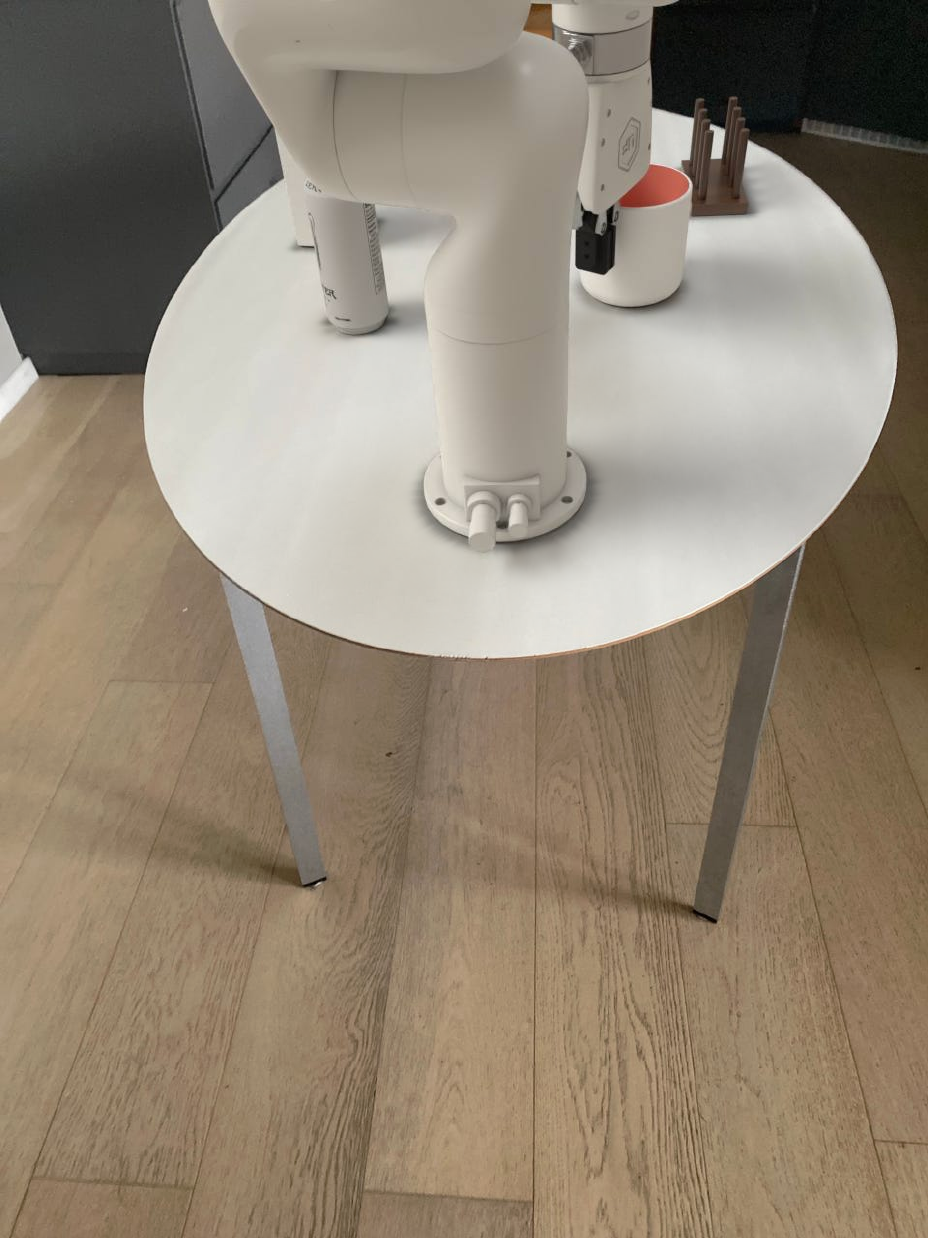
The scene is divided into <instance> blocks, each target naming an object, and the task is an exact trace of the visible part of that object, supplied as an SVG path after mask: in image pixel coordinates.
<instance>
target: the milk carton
mask: <svg viewBox="0 0 928 1238" xmlns="http://www.w3.org/2000/svg"><path fill="white" fill-rule="evenodd" d="M274 132H275V138H276V143H277V148H278V154H279V157H280V163H281V168H282V174H283V179H284V183H285V188H286V193H287V198H288V203H289V209H290V213H291V218H292V224H293V228H294V233H295V238H296V243H297V246H299V247H300V246H301V247H314V242H313V237H312V231H311V226H310V221H309V216H308V210H307V205H306V200H305V194H304V189H303V187H304V183H305V180H306V176H305V175H304V174H303V172H302V171H301V170H300V168H299V167H298V165H297V164H296V162H295V161H294V159H293V157H292V156H291V154H290V153H289V151H288V149H287V148H286V146H285V144H284V143H283V141H282V139H281V138H280V136H279V134H278V133H277V131H276V129H275V128H274Z"/></svg>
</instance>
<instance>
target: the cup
mask: <svg viewBox="0 0 928 1238" xmlns="http://www.w3.org/2000/svg"><path fill="white" fill-rule="evenodd" d="M692 188H693V185H692V182H691V180H690V178H689V177H688V176H687V175H685V174H684V173H683V172H681V170H679V169H676V168H674V167H671V166H668V165H664V164H658V163H651V162H650V166H649V169H648V171H647V173H646V174H645V176H644V177H643V178H642V179H641V180H640V181H639V182H638V183H637V184H635V185H634V186H633V187H632V188H631V189H630V190H629V191H628V192H627V193H626V194H625V195H623V196H622V197H621V204H620V213H619V218H618V221H617V222H616V223H615V224H614V223H612V225H616V243H615V264H614V267H613V268H611V269H610V270H609V271H608V272H607V273H606V274H605V275H600V274H596V273H592V272H588V271H584V270H580V269H579V278H580V282H581V285H582V287H583V289H584V290H585V291H586V292H587V293H588V294H589V295H590V296H591V297H593V298H594V299H596V300H597V301H599V302H602V303H605V304H608V305H611V306H615V307H625V308H627V307H628V308H629V307H630V308H634V307H636V308H637V307H644V306H649V305H653V304H657V303H659V302H662V301H664V300H666V299H667V298H669V297H670V296H671V295H672V294H674V293H675V292H676V291H677V290H678V288H679V287H680V285H681V284H682V282H683V278H684V269H685V260H686V253H687V242H688V234H689V224H690V216H691V213H690V207H691V198H692Z"/></svg>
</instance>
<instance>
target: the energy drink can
mask: <svg viewBox="0 0 928 1238" xmlns="http://www.w3.org/2000/svg"><path fill="white" fill-rule="evenodd" d="M303 189H304V194H305V200H306V205H307V210H308V216H309V221H310V226H311V231H312V237H313V242H314V246H313V247H314V253H315V257H316V262H317V268H318V272H319V273H318V274H319V278H320V284H321V288H322V294H323V299H324V305H325V311H326V315H327V319H328V321H329V322H330V323H331V324H332V325H333V326H334V327H335V328H336V330H337V331H339V332H341V333H342V334H343V333H344V334H346V335H365V334H368V333H371V332H373V331H376V330H378V329H379V328H381V326H382V325H384V323H385V319H386V317H387V316H388V315H389V312H390V307H389V298H388V292H387V283H386V277H385V269H384V263H383V262H384V261H383V254H382V248H381V241H380V233H379V226H378V225H379V224H378V218H377V217H378V216H377V210H376V204H366V203H358V202H351V201H345V200H341V199H337V198H334V197H332V196H329V195H327V194H325V193H324V192H322V191H321V190H319V189H318V188H317V187H315V186H314V185H313V184H312V183H311V182H310V181H309V180H308V179H307V177H306V180H305V183H304V187H303Z"/></svg>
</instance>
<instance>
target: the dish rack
mask: <svg viewBox="0 0 928 1238" xmlns="http://www.w3.org/2000/svg"><path fill="white" fill-rule="evenodd" d="M738 98H739V97H737V96H729V98H728V106H727V114H726V120H725V129H724V130H725V131H724V137H723V145H722V151H721V158H712V153H713V145H714V136H715V130H713V129H711V121H712V120H711V119H709V118H708V109H707V108H705V99H704V98H702V97H699V98H696V99H695V106H694V116H693V125H692V135H691V143H690V152H689V153H690V154H689V159H681V162H680V171H681V172H683V173H684V174H685V175H687V176H688V177H689V178H690V180H691V182H692V185H693V188H692V198H691V207H690V216H691V217H699V216H700V217H701V216H726V215H746V214H748V210H749V199H748V197H747V194H746V191H745V188H744V184H743V180H744V179H743V178H744V172H745V164H746V158H747V151H748V144H749V137H750V129H749V128H746V127H745V126H746V118H745V117H742V107H740V106H738Z"/></svg>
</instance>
